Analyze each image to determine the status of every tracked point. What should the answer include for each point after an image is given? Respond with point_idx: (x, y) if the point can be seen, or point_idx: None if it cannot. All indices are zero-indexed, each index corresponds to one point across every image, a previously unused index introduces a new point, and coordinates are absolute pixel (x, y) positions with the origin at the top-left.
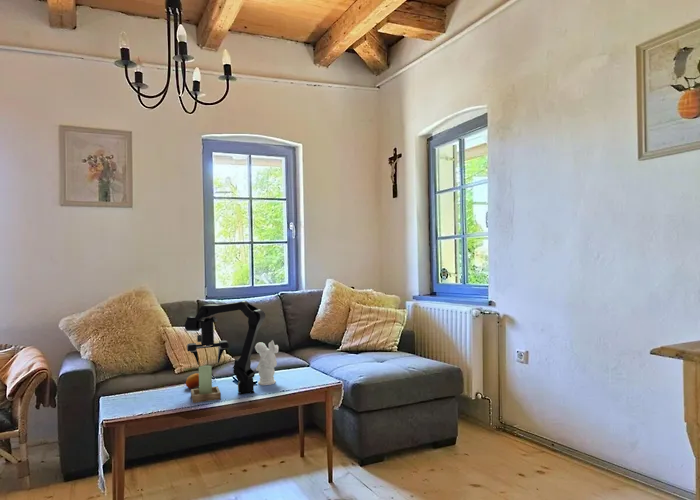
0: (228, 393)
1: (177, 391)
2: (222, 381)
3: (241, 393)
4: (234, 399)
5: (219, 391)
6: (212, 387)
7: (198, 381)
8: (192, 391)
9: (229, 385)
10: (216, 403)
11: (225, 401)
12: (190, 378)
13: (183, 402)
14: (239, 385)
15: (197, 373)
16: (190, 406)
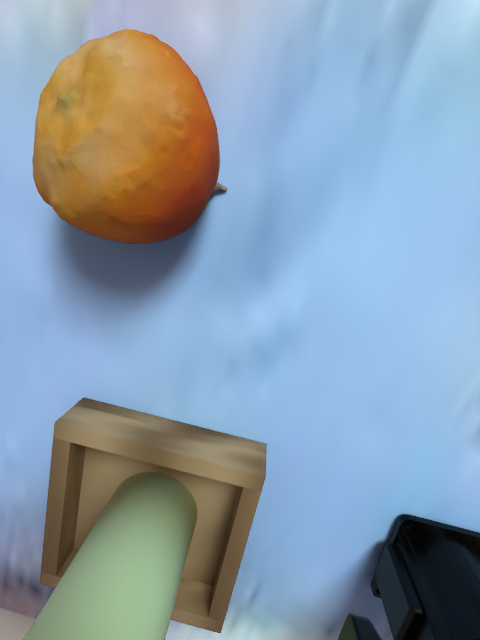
0: (320, 506)
1: (10, 199)
2: (465, 99)
3: (377, 595)
4: (294, 632)
5: (224, 605)
6: (218, 480)
7: (155, 241)
8: (56, 484)
9: (437, 304)
10: (180, 628)
11: (235, 630)
12: (55, 211)
13: (20, 497)
14: (395, 631)
15: (145, 110)
16: (45, 585)
